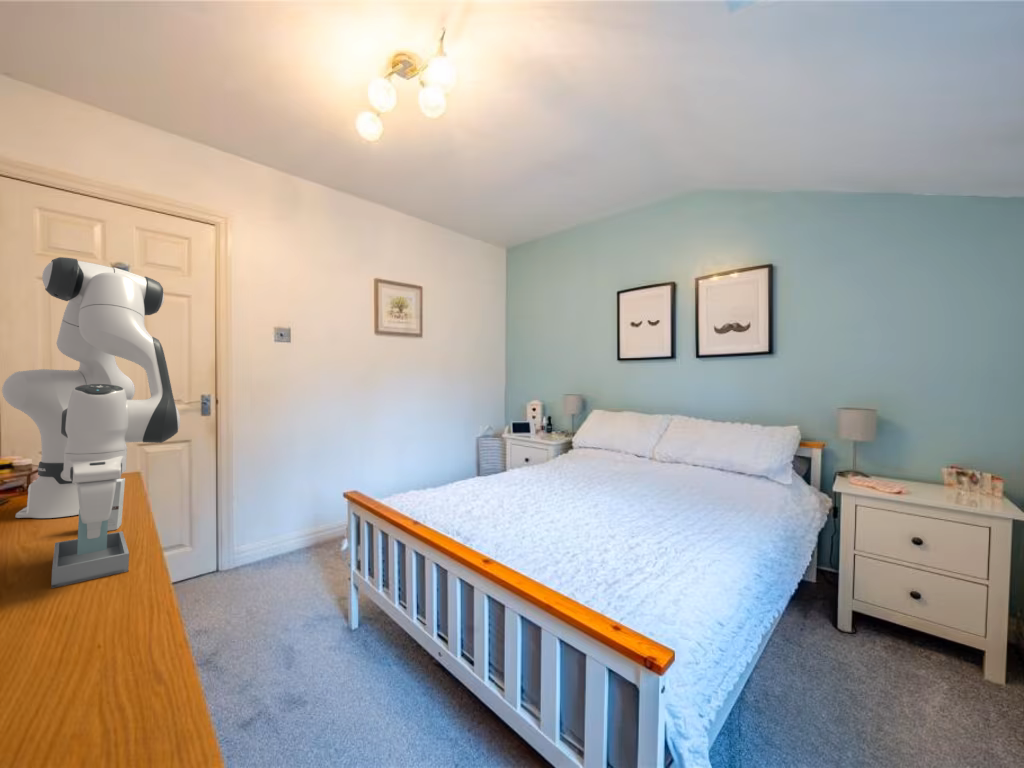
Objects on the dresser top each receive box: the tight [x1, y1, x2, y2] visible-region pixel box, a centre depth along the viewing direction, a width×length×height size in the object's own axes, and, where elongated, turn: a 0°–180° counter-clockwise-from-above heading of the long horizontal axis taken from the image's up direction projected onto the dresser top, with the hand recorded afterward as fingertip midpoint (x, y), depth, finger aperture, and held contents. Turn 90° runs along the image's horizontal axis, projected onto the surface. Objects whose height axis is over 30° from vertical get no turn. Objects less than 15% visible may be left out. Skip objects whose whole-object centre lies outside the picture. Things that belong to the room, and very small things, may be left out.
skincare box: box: [107, 477, 126, 532], centre depth 100 cm, size 6×4×12 cm
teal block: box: [77, 509, 108, 555], centre depth 81 cm, size 4×4×8 cm
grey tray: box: [50, 530, 130, 589], centre depth 81 cm, size 16×10×4 cm, turn 47°
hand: (92, 533), depth 81 cm, fingers closed on teal block, 4 cm apart
